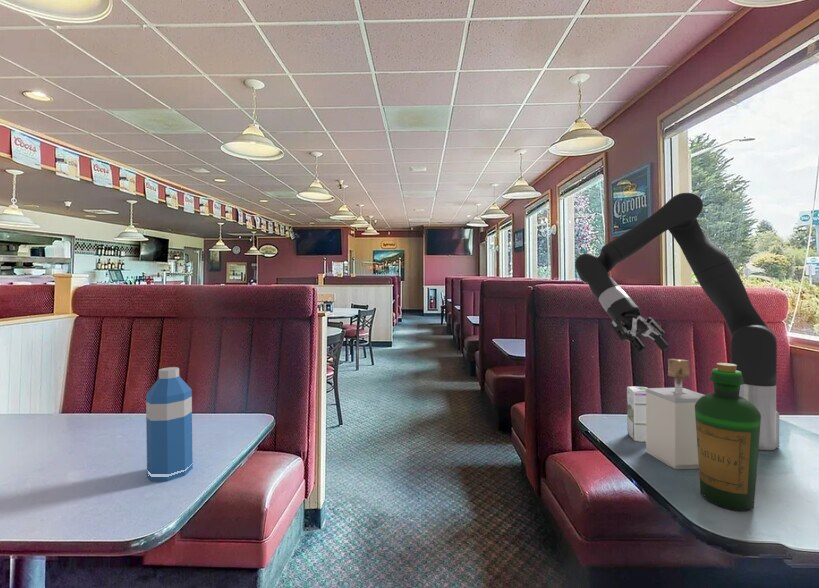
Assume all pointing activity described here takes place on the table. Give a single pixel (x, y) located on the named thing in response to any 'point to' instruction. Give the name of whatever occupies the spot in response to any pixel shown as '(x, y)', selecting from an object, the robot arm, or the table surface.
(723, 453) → the bottle
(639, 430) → the syrup box
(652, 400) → the white box
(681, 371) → the brown round knob
